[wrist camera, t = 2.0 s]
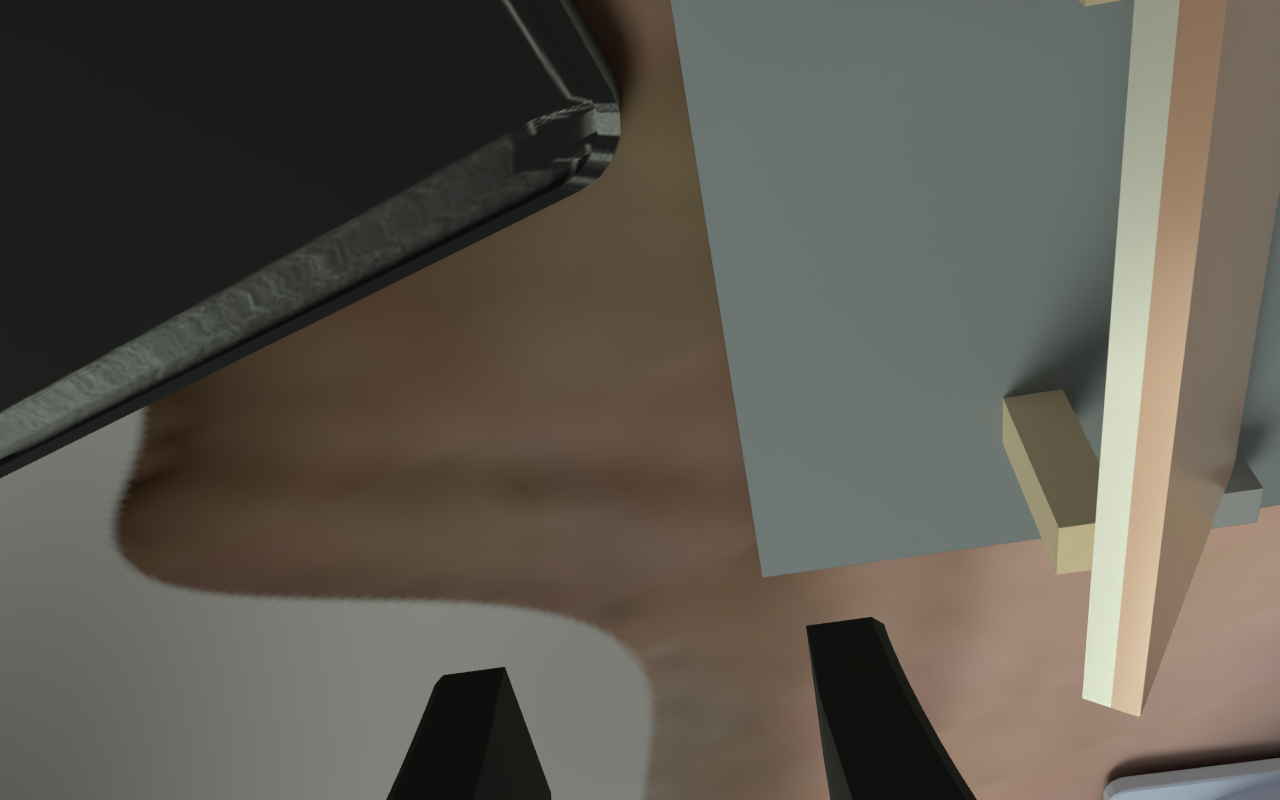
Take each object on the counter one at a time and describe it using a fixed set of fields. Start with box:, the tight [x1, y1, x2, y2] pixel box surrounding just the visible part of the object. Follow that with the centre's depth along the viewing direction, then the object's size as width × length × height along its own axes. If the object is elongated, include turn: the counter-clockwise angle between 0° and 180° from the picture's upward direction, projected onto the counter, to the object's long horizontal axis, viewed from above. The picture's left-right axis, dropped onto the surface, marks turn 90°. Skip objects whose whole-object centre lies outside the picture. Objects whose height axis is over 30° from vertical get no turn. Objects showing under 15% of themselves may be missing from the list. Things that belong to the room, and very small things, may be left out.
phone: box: [0, 0, 621, 478], centre depth 18 cm, size 8×1×15 cm
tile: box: [1082, 0, 1280, 717], centre depth 16 cm, size 11×6×1 cm
